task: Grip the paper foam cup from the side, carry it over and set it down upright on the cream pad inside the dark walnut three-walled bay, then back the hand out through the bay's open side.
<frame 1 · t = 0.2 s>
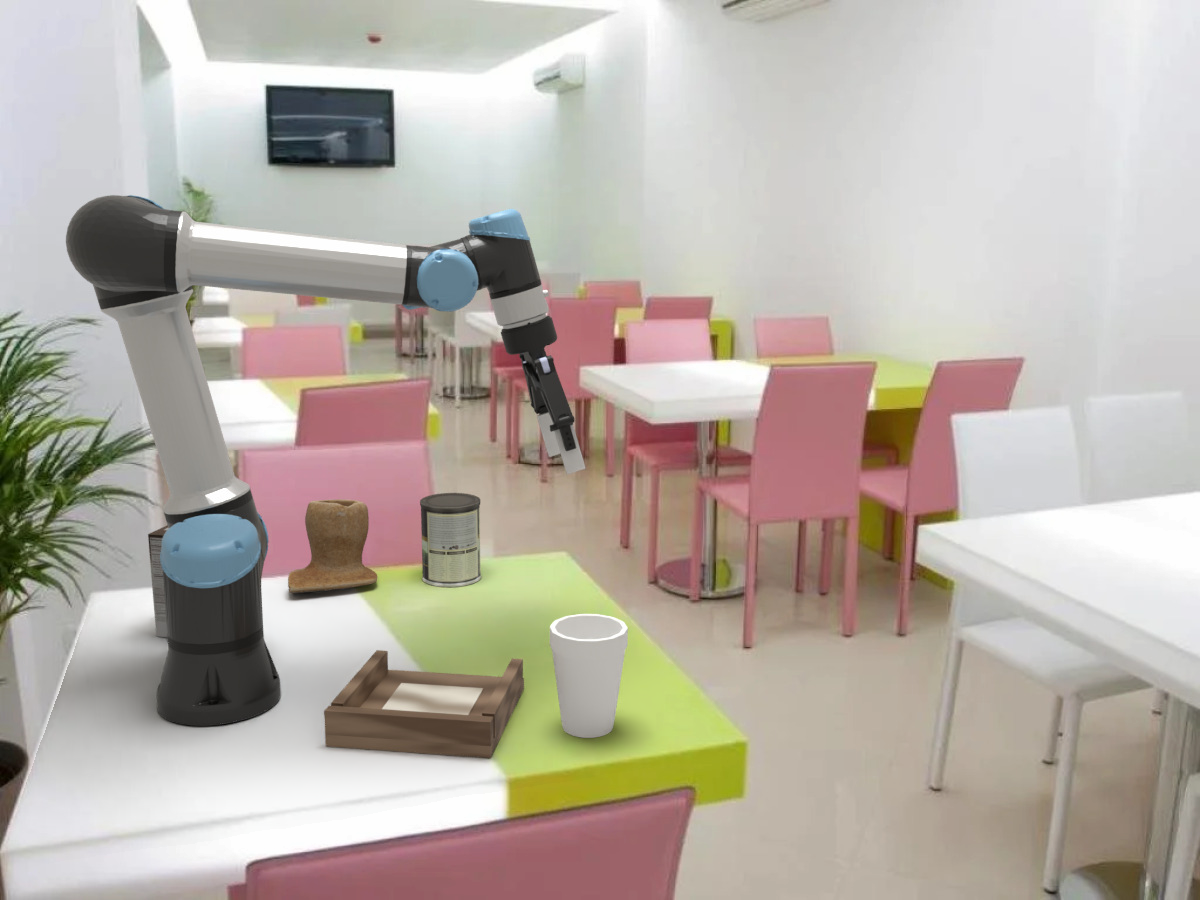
hand: (566, 462, 163), 27 cm above the table, tool tilted 15°, fingers open, 13 cm apart
foam cup: (587, 727, 140), on the table
coffee can: (451, 579, 196), on the table
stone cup: (331, 587, 192), on the table
bay: (430, 715, 142), on the table
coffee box: (190, 629, 171), on the table
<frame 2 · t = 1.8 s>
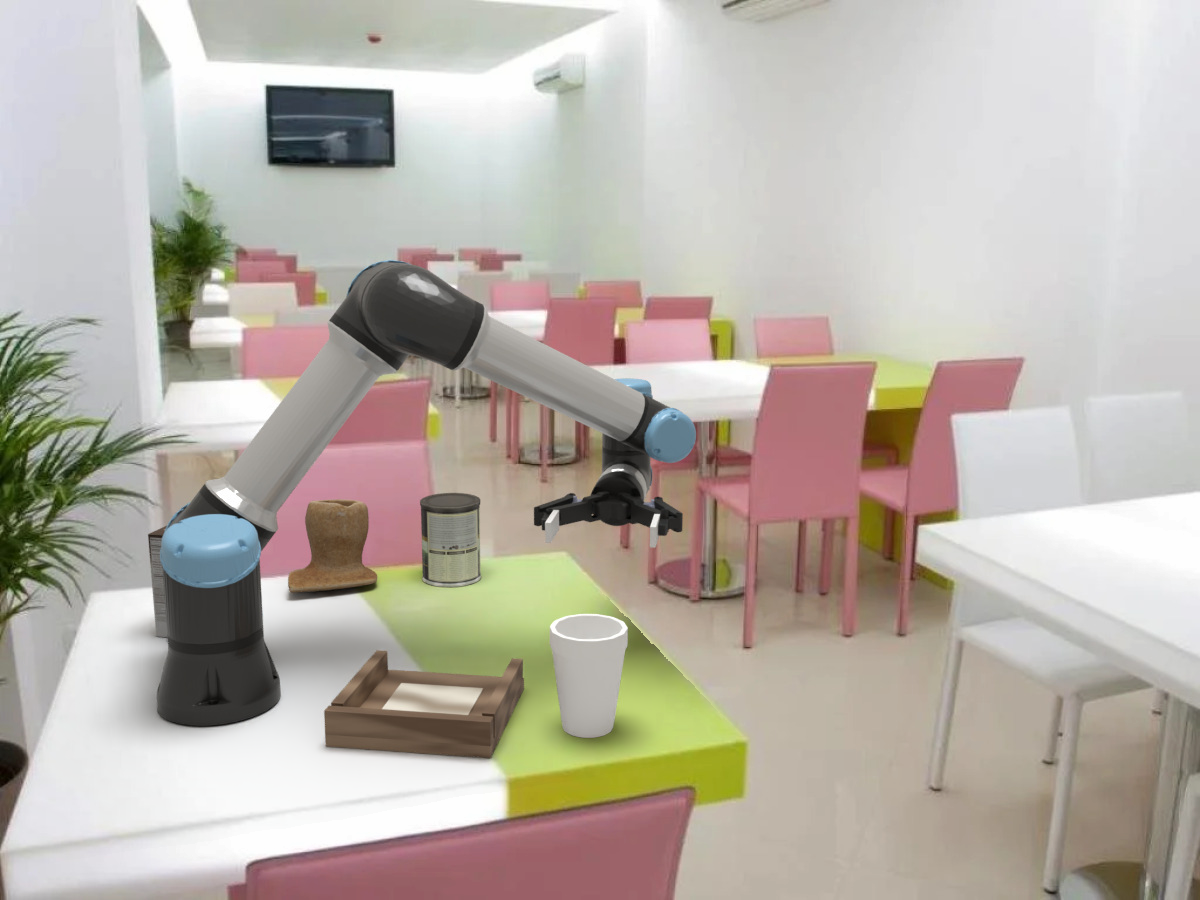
hand: (600, 535, 145), 22 cm above the table, tool horizontal, fingers open, 13 cm apart
nothing on the table moved.
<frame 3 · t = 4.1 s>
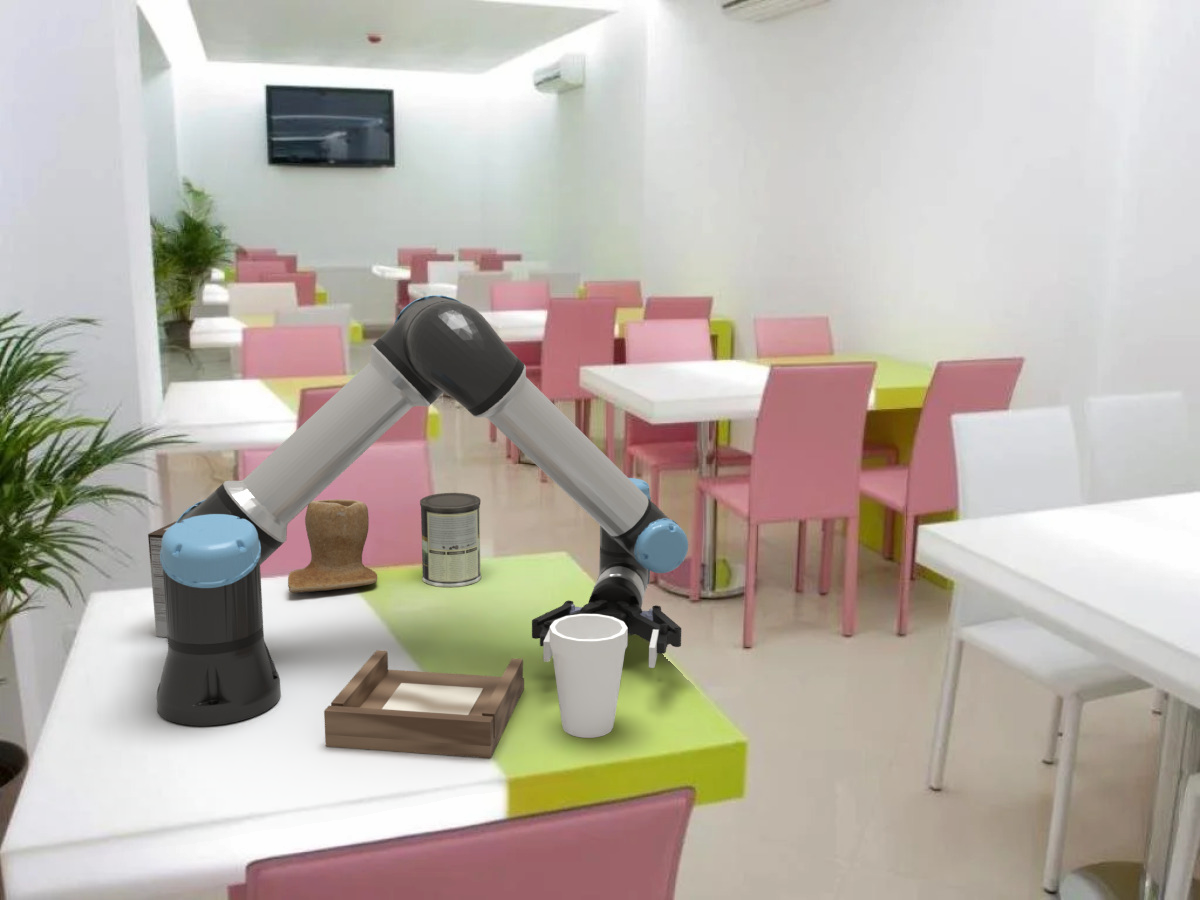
hand: (598, 654, 144), 7 cm above the table, tool horizontal, fingers open, 13 cm apart
nothing on the table moved.
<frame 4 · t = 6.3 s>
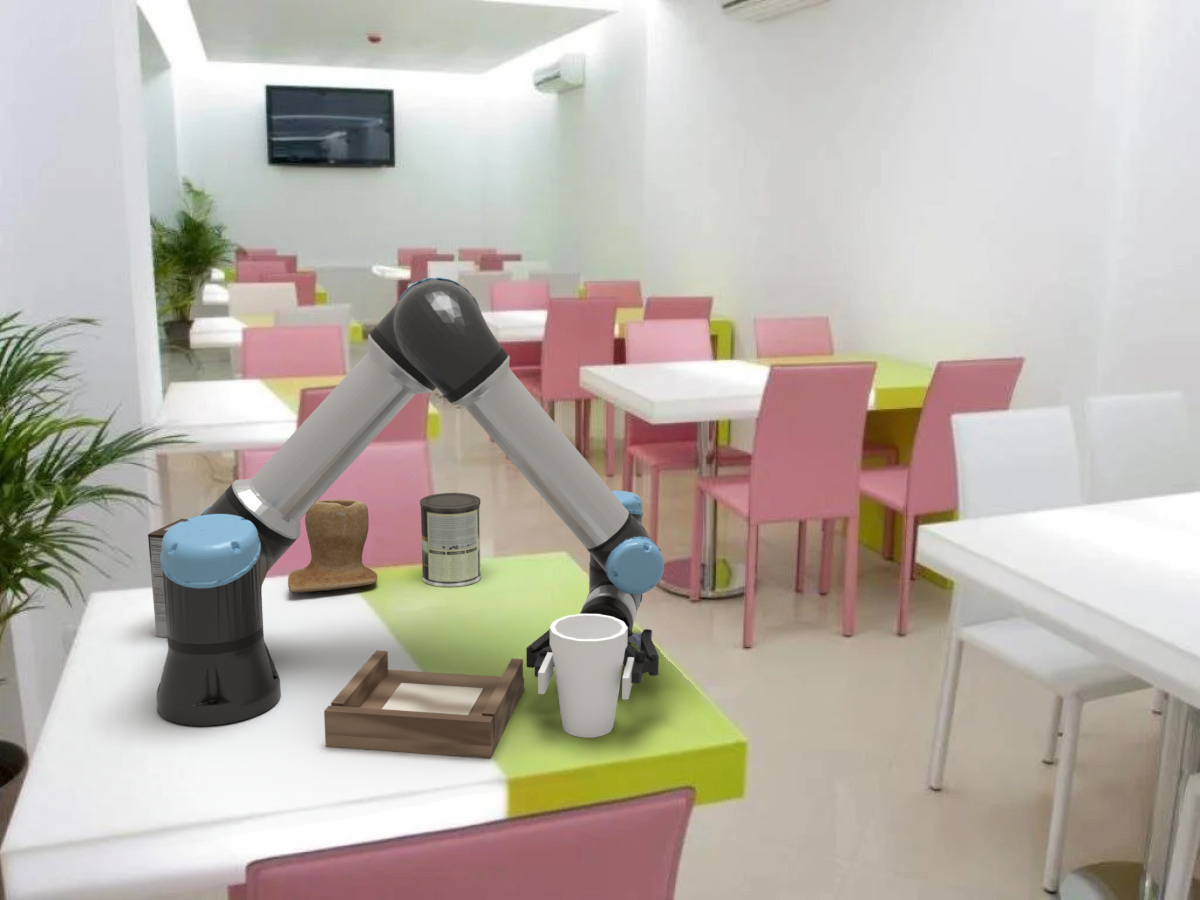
hand: (583, 686, 134), 7 cm above the table, tool horizontal, fingers closed on foam cup, 9 cm apart
foam cup: (587, 727, 140), on the table, touching gripper
everything else where it was.
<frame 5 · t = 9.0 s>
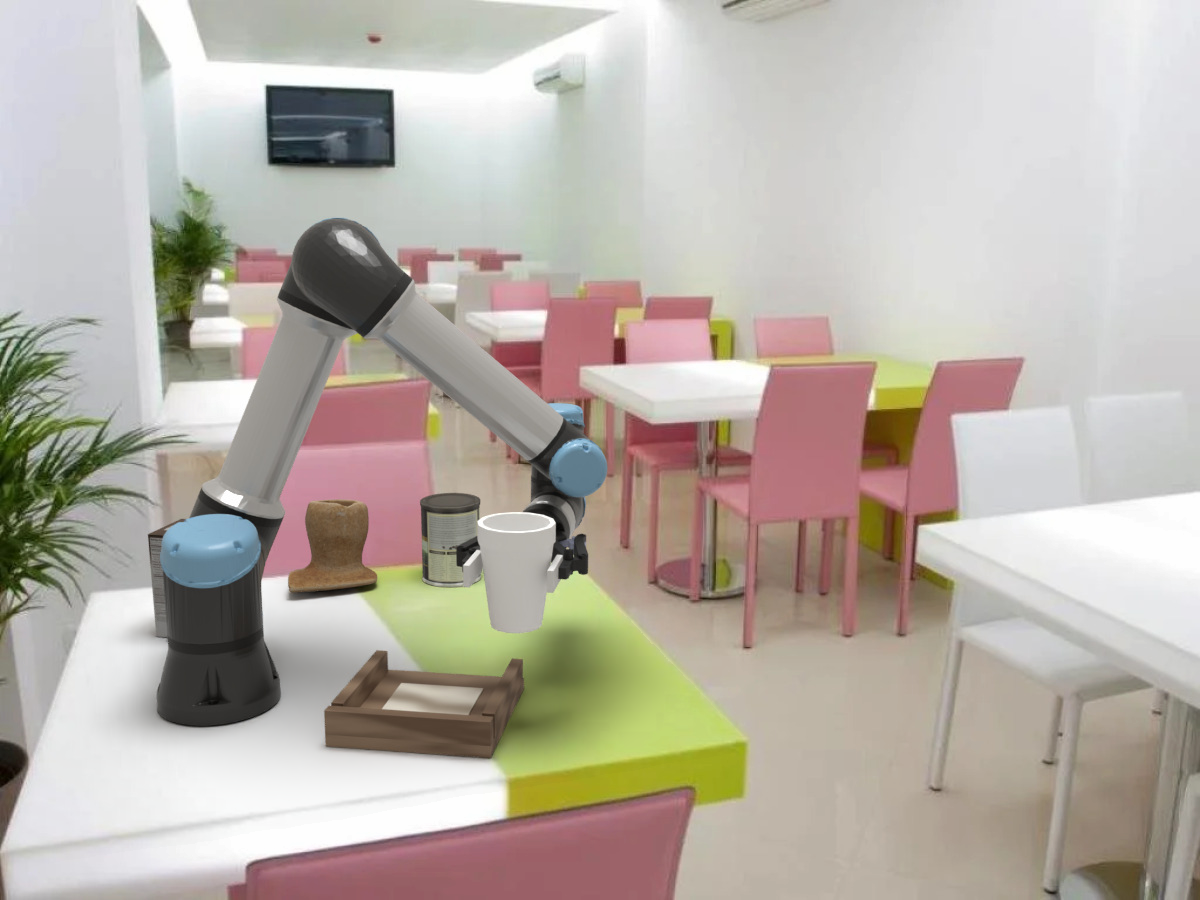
hand: (508, 579, 133), 20 cm above the table, tool horizontal, fingers closed on foam cup, 9 cm apart
foam cup: (516, 625, 139), point 12 cm above the table, touching gripper
everything else where it was.
when the fingers open (10 cm above the table, at t = 12.0 s): foam cup drops 1 cm, resting on bay.
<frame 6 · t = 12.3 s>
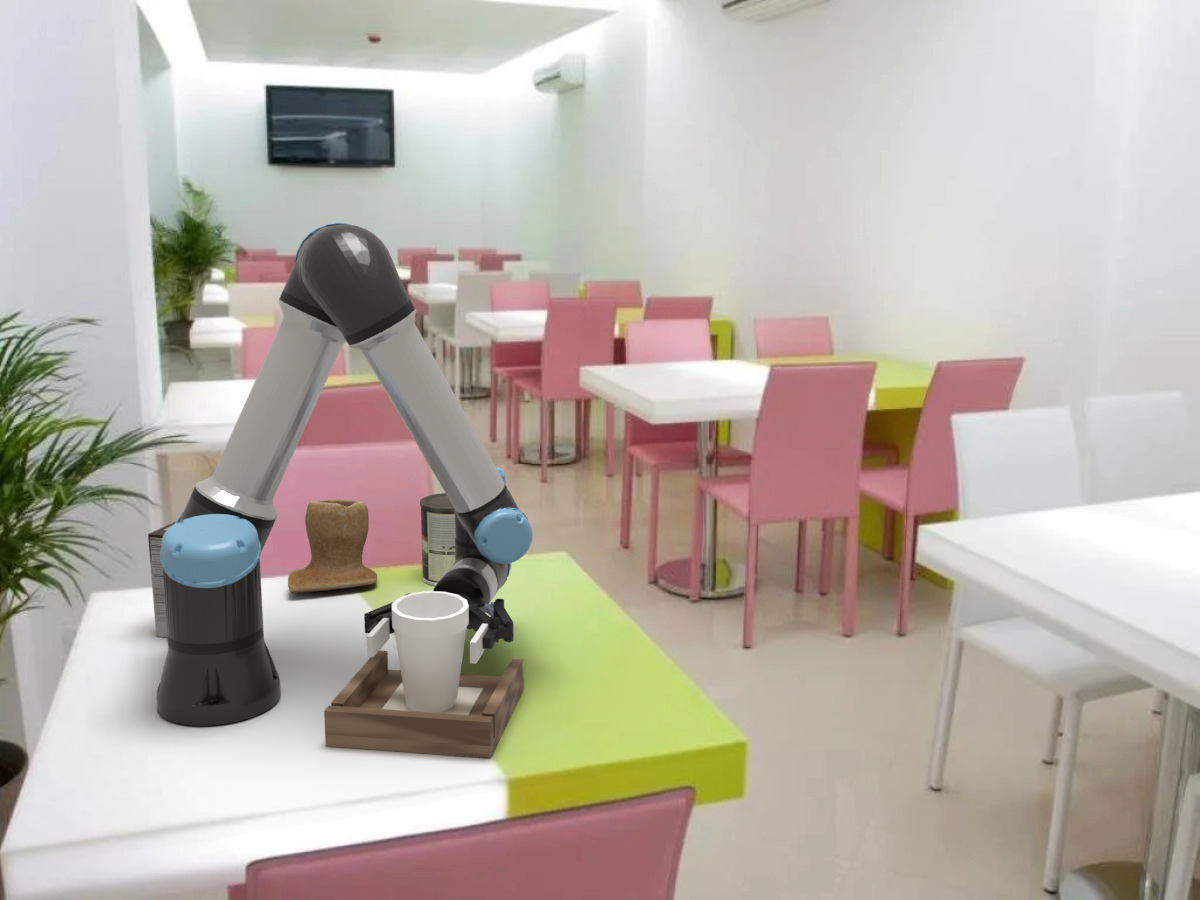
hand: (421, 650, 137), 10 cm above the table, tool horizontal, fingers open, 12 cm apart
foam cup: (430, 703, 142), point 2 cm above the table, touching bay
everything else where it was.
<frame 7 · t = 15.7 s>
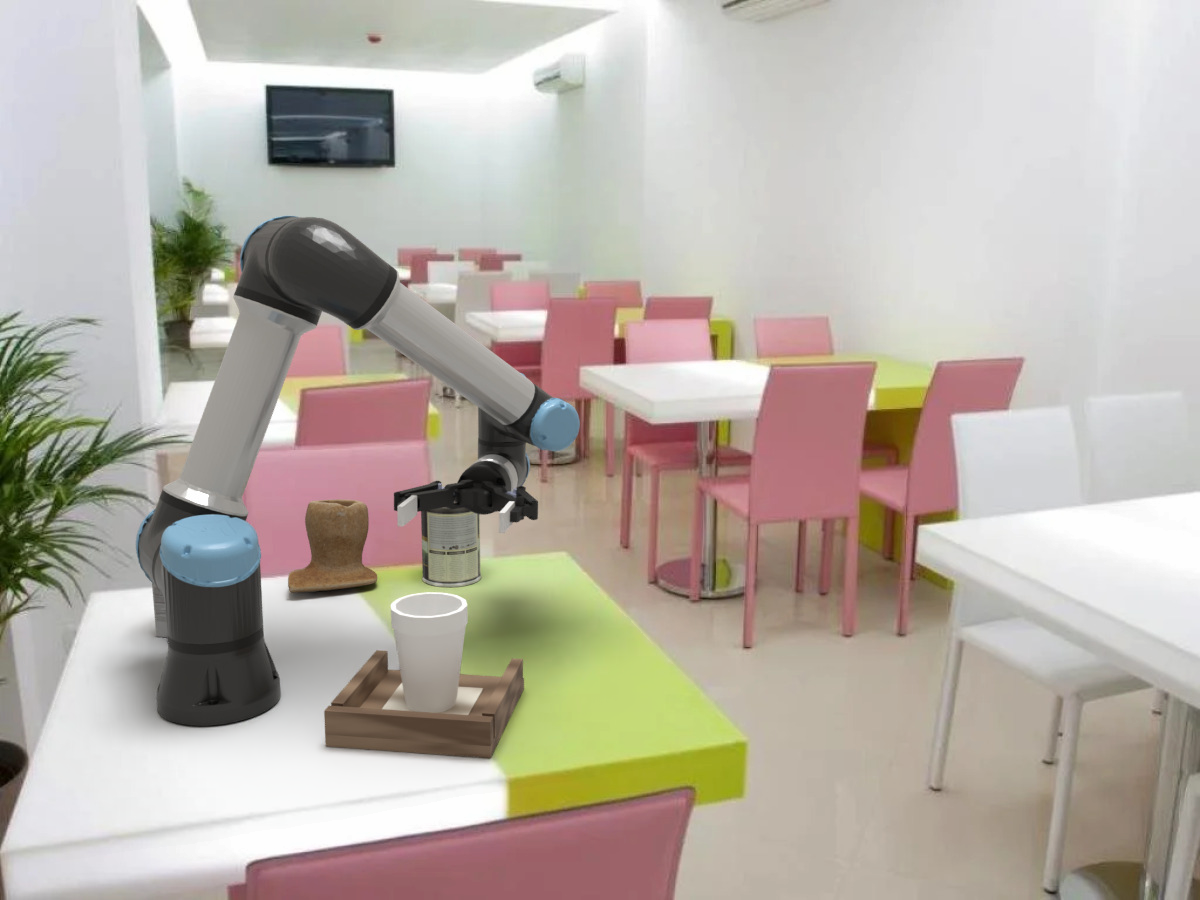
hand: (450, 519, 147), 23 cm above the table, tool horizontal, fingers open, 13 cm apart
nothing on the table moved.
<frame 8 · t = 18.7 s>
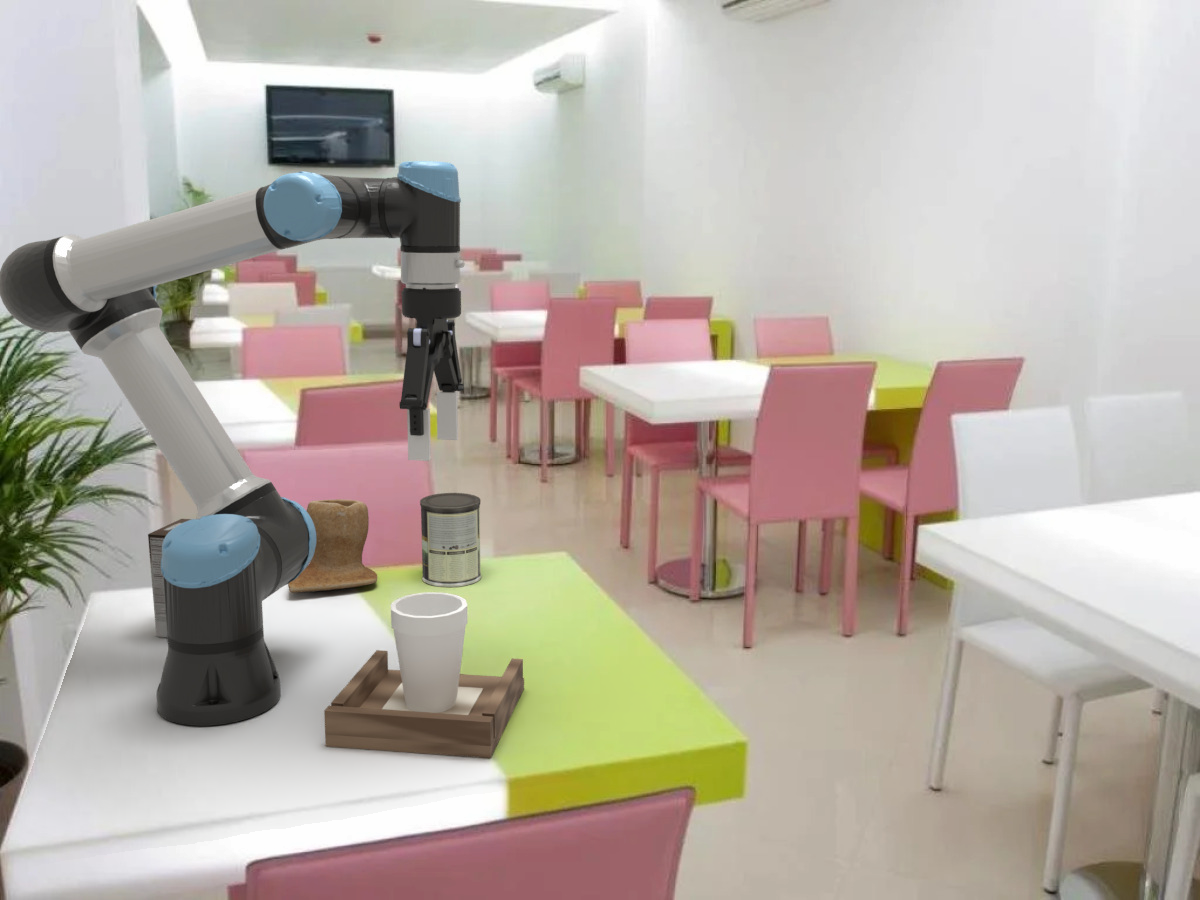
hand: (434, 449, 148), 32 cm above the table, tool pointing down, fingers open, 13 cm apart
nothing on the table moved.
at the end: foam cup inside the target area on the bay (0.1 cm from its centre), point 1.5 cm above the bay's base; foam cup tilted 0°; the gripper is holding nothing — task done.
